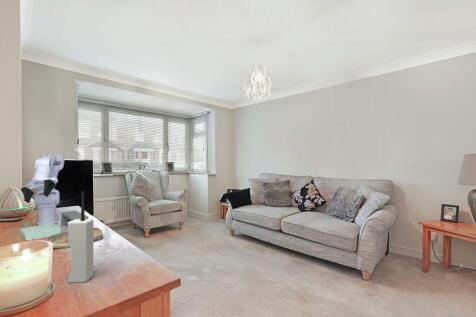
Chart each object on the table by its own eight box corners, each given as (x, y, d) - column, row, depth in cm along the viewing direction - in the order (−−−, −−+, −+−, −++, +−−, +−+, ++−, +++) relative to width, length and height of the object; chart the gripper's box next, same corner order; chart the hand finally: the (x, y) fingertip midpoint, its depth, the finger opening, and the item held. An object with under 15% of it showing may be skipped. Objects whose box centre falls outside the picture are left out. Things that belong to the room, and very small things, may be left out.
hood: (61, 224, 121) (61, 212, 121) (75, 222, 125) (75, 210, 125) (73, 233, 107) (73, 219, 107) (88, 230, 112) (88, 216, 112)
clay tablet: (44, 254, 84) (106, 240, 98) (44, 241, 84) (105, 228, 98) (41, 245, 94) (98, 233, 108) (41, 233, 94) (97, 222, 108)
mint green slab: (20, 235, 106) (20, 228, 106) (53, 229, 115) (53, 223, 115) (25, 242, 97) (25, 235, 97) (60, 235, 106) (60, 228, 106)
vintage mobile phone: (75, 276, 68) (75, 190, 68) (93, 275, 68) (93, 190, 68) (67, 283, 64) (67, 192, 64) (86, 282, 64) (86, 192, 64)
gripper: (18, 176, 108) (11, 199, 99) (52, 166, 111) (48, 187, 102) (29, 185, 113) (23, 208, 104) (61, 175, 116) (58, 196, 107)
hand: (36, 198), depth 104 cm, fingers open, 7 cm apart
